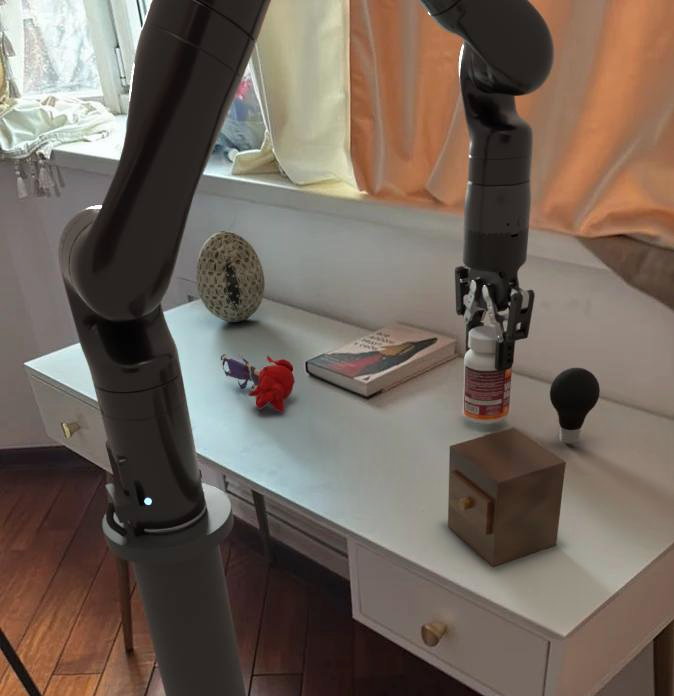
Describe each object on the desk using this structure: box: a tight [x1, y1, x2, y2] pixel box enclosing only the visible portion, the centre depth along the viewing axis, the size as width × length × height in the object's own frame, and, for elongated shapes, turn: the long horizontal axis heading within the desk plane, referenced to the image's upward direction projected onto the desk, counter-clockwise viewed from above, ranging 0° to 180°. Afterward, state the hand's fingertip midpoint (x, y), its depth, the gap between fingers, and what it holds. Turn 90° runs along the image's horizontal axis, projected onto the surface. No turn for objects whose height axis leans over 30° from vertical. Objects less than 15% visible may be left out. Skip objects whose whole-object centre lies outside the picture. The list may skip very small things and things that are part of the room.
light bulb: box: [549, 367, 601, 446], centre depth 105 cm, size 6×6×10 cm
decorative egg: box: [195, 230, 266, 323], centre depth 148 cm, size 12×12×15 cm
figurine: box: [220, 354, 296, 413], centre depth 123 cm, size 6×8×15 cm
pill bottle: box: [461, 324, 513, 425], centre depth 110 cm, size 6×6×11 cm
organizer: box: [447, 427, 567, 567], centre depth 89 cm, size 9×9×10 cm
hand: (488, 360), depth 109 cm, fingers closed on pill bottle, 6 cm apart
